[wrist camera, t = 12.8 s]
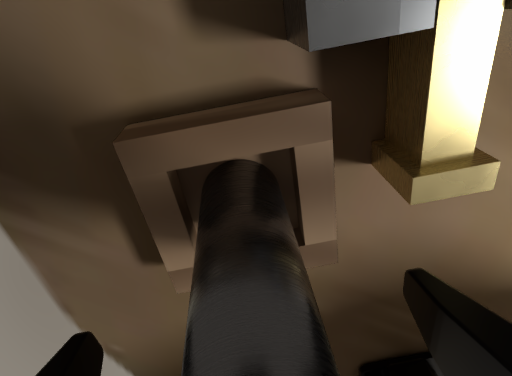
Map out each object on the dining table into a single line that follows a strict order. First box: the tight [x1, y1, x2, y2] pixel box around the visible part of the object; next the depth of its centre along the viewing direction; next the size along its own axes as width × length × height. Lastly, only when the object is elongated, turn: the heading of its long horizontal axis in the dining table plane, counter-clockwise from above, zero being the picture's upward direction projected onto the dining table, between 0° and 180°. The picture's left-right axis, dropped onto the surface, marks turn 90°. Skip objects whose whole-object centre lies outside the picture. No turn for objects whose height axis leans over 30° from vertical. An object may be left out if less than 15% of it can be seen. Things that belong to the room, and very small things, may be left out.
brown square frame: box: [112, 88, 338, 294], centre depth 14 cm, size 8×8×2 cm
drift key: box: [371, 0, 505, 205], centre depth 11 cm, size 9×3×4 cm, turn 10°
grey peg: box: [181, 159, 340, 376], centre depth 10 cm, size 4×4×11 cm
